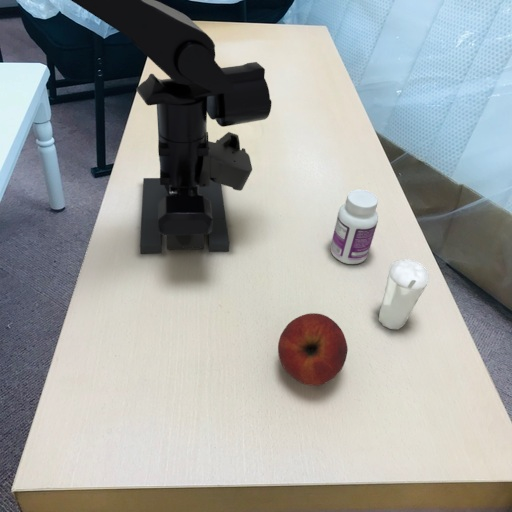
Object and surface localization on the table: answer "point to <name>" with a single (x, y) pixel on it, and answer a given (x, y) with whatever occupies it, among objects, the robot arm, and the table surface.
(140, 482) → the table surface
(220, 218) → the base pad
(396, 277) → the milkshake
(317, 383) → the apple
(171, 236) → the black block
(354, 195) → the pill bottle
